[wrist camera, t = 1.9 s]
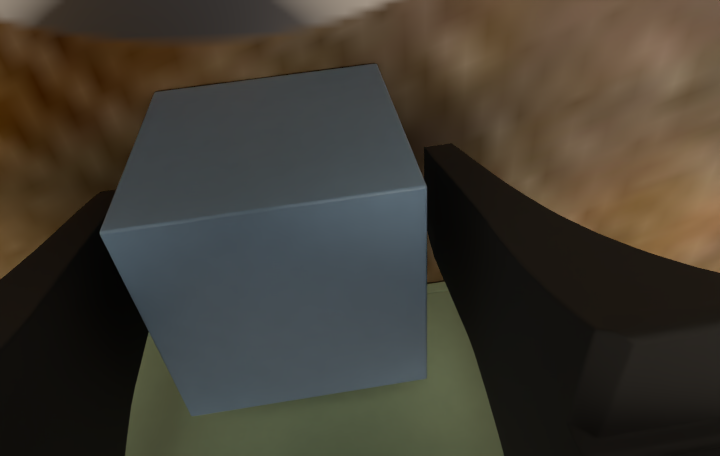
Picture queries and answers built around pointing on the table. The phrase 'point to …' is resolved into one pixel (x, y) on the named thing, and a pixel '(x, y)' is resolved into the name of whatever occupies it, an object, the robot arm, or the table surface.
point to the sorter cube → (276, 238)
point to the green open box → (333, 410)
